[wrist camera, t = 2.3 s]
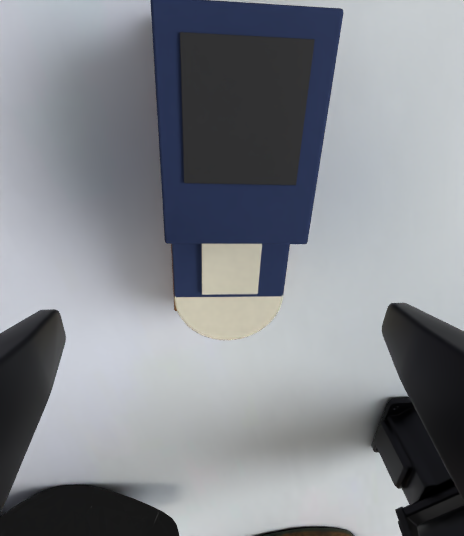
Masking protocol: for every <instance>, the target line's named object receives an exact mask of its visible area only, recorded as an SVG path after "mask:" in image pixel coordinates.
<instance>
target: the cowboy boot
mask: <svg viewBox="0 0 464 536" xmlns="http://www.w3.org/2000/svg"><path fill="white" fill-rule="evenodd" d="M0 536H179V532H178V528H177V525H176V523H175V522H174V520H173V519H172V518H171V517H169V516H168V515H167V514H165V513H164V512H162V511H160V510H158V509H156V508H154V507H152V506H150V505H148V504H145V503H143V502H140V501H138V500H136V499H133V498H131V497H128V496H125V495H122V494H119V493H116V492H113V491H109V490H105V489H101V488H96V487H92V486H85V485H65V486H59V487H54V488H51V489H48V490H45V491H42V492H40V493H38V494H35V495H34V496H32V497H30V498H28V499H26V500H25V501H23V502H21V503H20V504H18V505H17V506H15V507H14V508H12V509H11V510H10V511H8V512H7V513H5V514H4V515H2V516H1V517H0Z"/></svg>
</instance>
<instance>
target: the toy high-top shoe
mask: <svg viewBox="0 0 464 536" xmlns="http://www.w3.org/2000/svg"><path fill="white" fill-rule="evenodd" d="M151 16H152V33H153V50H154V66H155V83H156V100H157V116H158V133H159V150H160V166H161V183H162V200H163V216H164V233H165V242H166V243H169V244H171V252H172V272H173V292H174V310H175V311H178V313H179V315H180V317H181V318H182V320H183V321H184V322H185V324H186V325H187V326H189V327H190V328H191V329H192V330H194V331H195V332H197V333H199V334H201V335H203V336H205V337H208V338H212V339H218V340H235V339H241V338H245V337H248V336H250V335H253V334H255V333H257V332H259V331H260V330H262V329H263V328H265V327H266V326H267V325H268V324H269V323H270V322H271V321H272V320H273V319H274V317H275V316H276V314H277V313H278V311H279V309H280V306H281V303H282V299H283V292H284V284H285V277H286V269H287V261H288V254H289V246H290V244H307V241H308V234H309V228H310V222H311V215H312V209H313V203H314V196H315V190H316V184H317V177H318V171H319V164H320V158H321V152H322V145H323V139H324V133H325V126H326V120H327V114H328V107H329V101H330V95H331V88H332V82H333V75H334V69H335V63H336V56H337V50H338V44H339V37H340V31H341V25H342V18H343V10H342V9H339V8H323V7H307V6H291V5H275V4H259V3H243V2H227V1H211V0H151Z"/></svg>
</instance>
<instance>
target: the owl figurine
mask: <svg viewBox="0 0 464 536" xmlns="http://www.w3.org/2000/svg"><path fill="white" fill-rule="evenodd" d="M262 536H354V535H353V534H352V533H351V532H349V531H347V530H343V529H335V528H303V529H293V530H287V531H283V532H275V533H272V534H267V535H262Z"/></svg>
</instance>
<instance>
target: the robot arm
mask: <svg viewBox="0 0 464 536" xmlns="http://www.w3.org/2000/svg"><path fill="white" fill-rule="evenodd" d="M382 334H383V337H384V340H385V342H386V345H387V347H388V350H389V352H390V355H391V357H392V360H393V362H394V365H395V368H396V370H397V373H398V375H399V377H400V380H401V382H402V384H403V386H404V388H405V390H406V392H407V394H408V396H409V398H398V399H391V400H389V401H388V403H387V405H386V408H385V410H384V413H383V416H382V419H381V421H380V424H379V427H378V429H377V432H376V435H375V437H374V440H373V443H372V448H373V450H374V452H379V453H380V455H381V457H382V459H383V462H384V464H385V466H386V468H387V470H388V472H389V474H390V476H391V479H392V481H393V483H394V485H395V486H396V487H397V488H398V489H399V488H402V490H403V492H404V494H405V496H406V498H407V500H408V502H409V504H410V505H408V506H406V507H404V508H403V507H400V508H398V509H396V513H397V516H398V519H399V521H398V524H399V527H400V530H401V533H402V536H464V331H462V330H460V329H458V328H456V327H454V326H452V325H450V324H448V323H446V322H443V321H441V320H439V319H437V318H435V317H433V316H431V315H429V314H427V313H425V312H423V311H421V310H419V309H417V308H415V307H413V306H411V305H409V304H406V303H391V304H390V305H389V306H388V308H387V312H386V315H385V318H384V321H383V325H382ZM65 340H66V336H65V331H64V327H63V323H62V319H61V316H60V313H59V311H57V310H40V311H38V312H36V313H35V314H33V315H31V316H29V317H28V318H26V319H24V320H23V321H21V322H19V323H17V324H16V325H14V326H12V327H11V328H9V329H7V330H5V331H4V332H2V333H0V514H1V511H2V509H3V507H4V504H5V502H6V499H7V497H8V495H9V492H10V490H11V487H12V485H13V483H14V480H15V478H16V476H17V473H18V471H19V468H20V466H21V464H22V461H23V459H24V456H25V454H26V452H27V449H28V447H29V444H30V442H31V440H32V437H33V435H34V432H35V430H36V428H37V425H38V423H39V421H40V418H41V416H42V413H43V411H44V409H45V406H46V404H47V401H48V399H49V396H50V393H51V390H52V387H53V383H54V380H55V377H56V373H57V370H58V366H59V363H60V359H61V356H62V352H63V349H64V345H65Z"/></svg>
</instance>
